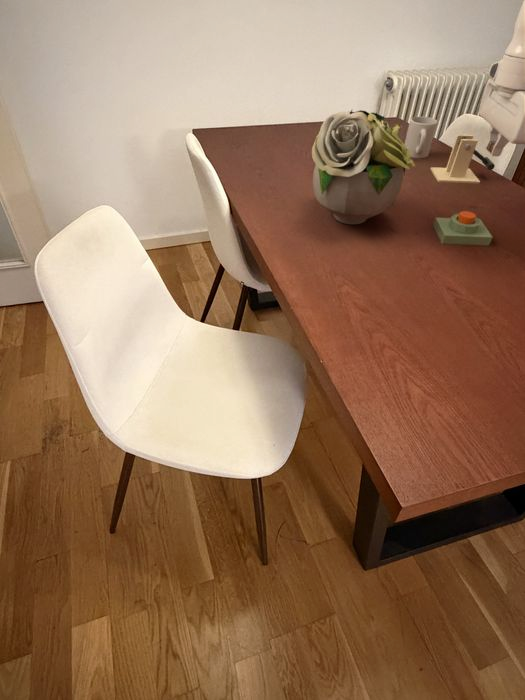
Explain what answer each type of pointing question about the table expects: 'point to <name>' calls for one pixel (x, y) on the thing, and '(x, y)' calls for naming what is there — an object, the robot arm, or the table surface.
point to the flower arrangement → (358, 165)
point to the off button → (466, 217)
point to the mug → (420, 136)
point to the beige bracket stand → (458, 162)
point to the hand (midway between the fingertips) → (492, 152)
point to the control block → (461, 231)
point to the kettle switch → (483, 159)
